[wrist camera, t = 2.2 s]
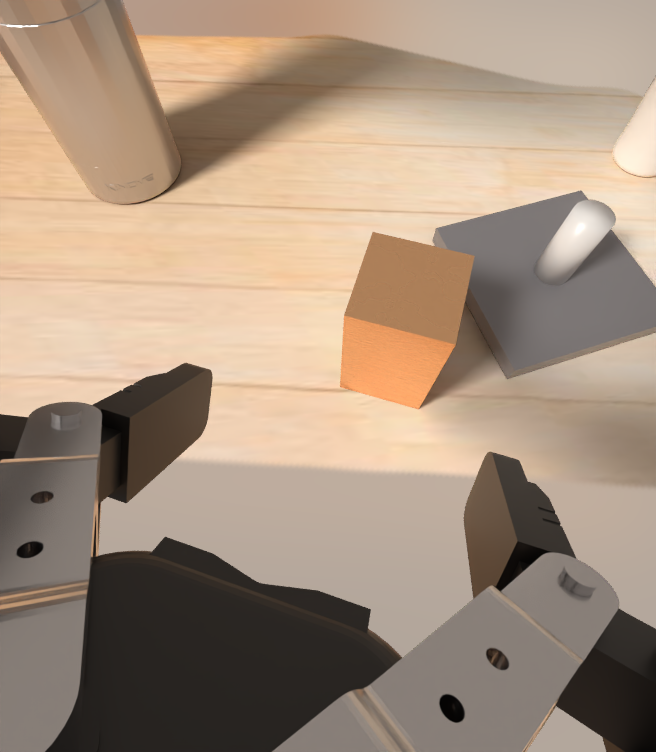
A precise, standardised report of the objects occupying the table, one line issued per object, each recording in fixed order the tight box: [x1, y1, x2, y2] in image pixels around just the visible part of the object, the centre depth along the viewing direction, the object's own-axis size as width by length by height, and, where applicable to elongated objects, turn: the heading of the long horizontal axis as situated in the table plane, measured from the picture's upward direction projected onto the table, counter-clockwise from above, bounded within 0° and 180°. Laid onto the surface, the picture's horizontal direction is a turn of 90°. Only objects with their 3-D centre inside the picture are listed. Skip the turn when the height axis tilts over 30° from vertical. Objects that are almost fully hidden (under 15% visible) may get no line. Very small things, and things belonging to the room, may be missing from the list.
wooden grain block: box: [340, 232, 475, 409], centre depth 28 cm, size 6×6×10 cm
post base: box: [433, 191, 656, 379], centre depth 32 cm, size 14×14×8 cm
